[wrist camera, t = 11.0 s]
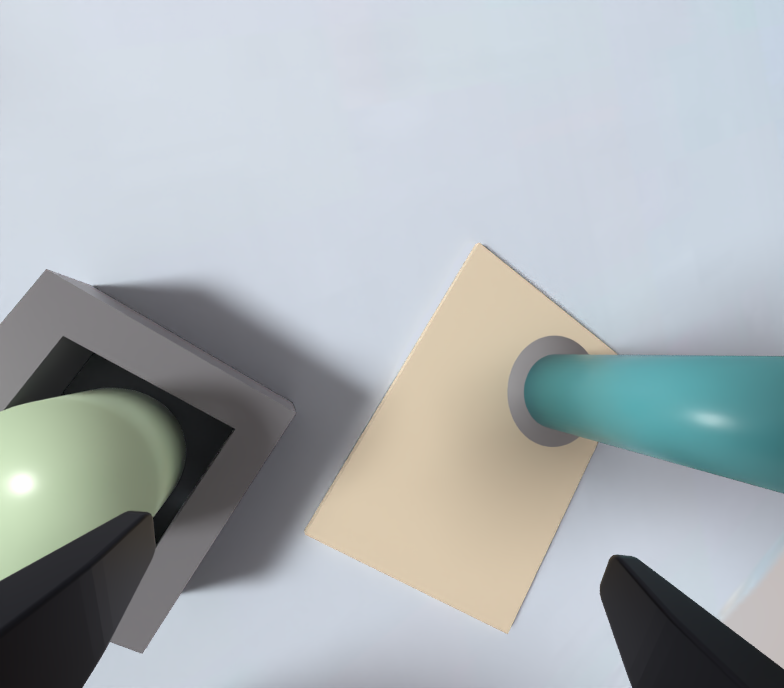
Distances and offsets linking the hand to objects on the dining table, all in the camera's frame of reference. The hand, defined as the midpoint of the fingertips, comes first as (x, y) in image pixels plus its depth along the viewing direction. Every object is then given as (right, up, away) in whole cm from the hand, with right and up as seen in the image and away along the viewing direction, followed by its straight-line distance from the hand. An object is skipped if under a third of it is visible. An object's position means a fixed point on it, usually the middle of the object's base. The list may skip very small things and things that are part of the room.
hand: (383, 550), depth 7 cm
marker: (+9, +1, +13) cm, 16 cm away
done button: (-10, 0, +6) cm, 11 cm away
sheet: (+5, -1, +12) cm, 13 cm away
